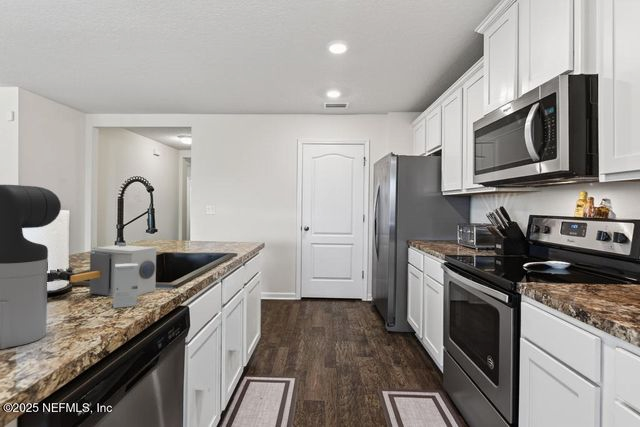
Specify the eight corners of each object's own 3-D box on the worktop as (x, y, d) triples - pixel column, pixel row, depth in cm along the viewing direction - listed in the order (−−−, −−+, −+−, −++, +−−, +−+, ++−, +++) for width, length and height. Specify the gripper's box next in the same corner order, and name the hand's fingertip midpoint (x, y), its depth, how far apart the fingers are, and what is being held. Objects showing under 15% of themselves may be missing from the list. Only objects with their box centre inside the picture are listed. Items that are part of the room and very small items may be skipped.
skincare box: (113, 308, 92) (114, 266, 92) (112, 304, 95) (113, 263, 95) (137, 305, 95) (138, 264, 95) (136, 301, 99) (137, 262, 99)
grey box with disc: (130, 298, 102) (131, 248, 102) (91, 293, 107) (92, 244, 107) (157, 290, 112) (158, 244, 112) (119, 286, 117) (120, 242, 117)
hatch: (80, 301, 96) (81, 258, 95) (63, 299, 98) (64, 256, 97) (108, 294, 104) (109, 254, 104) (92, 292, 106) (93, 252, 106)
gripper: (55, 279, 110) (93, 284, 105) (8, 288, 98) (48, 294, 92) (55, 257, 110) (93, 261, 105) (8, 263, 98) (48, 268, 92)
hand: (72, 277), depth 99 cm, fingers closed
